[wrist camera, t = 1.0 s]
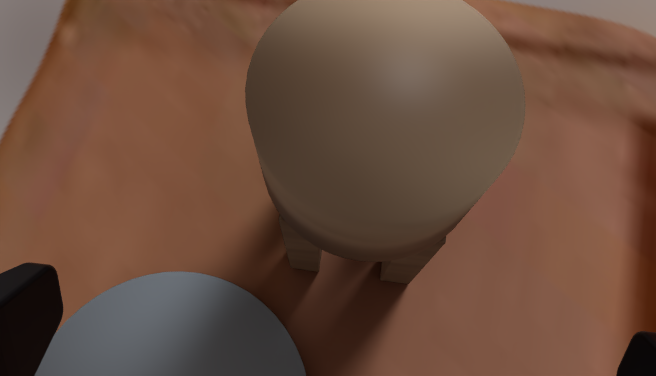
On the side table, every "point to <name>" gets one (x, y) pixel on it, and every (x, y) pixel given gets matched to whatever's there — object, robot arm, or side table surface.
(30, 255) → the side table surface
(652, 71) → the side table surface
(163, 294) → the mat
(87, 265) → the side table surface
